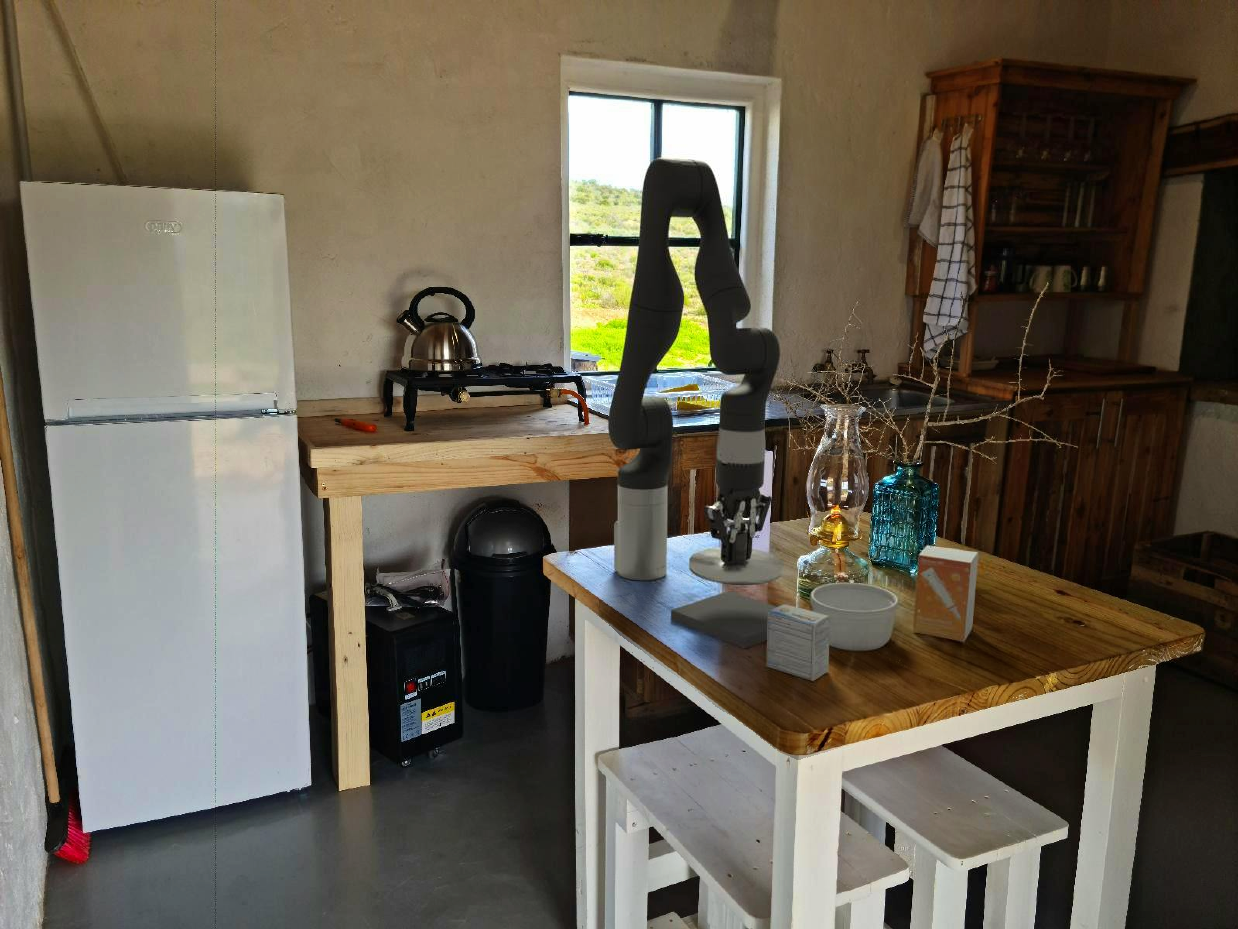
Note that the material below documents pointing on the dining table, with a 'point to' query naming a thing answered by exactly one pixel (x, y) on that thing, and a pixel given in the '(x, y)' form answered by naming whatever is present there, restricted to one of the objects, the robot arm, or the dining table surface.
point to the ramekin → (856, 614)
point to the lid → (737, 565)
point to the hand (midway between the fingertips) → (736, 560)
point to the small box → (945, 592)
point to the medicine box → (798, 641)
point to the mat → (727, 618)
